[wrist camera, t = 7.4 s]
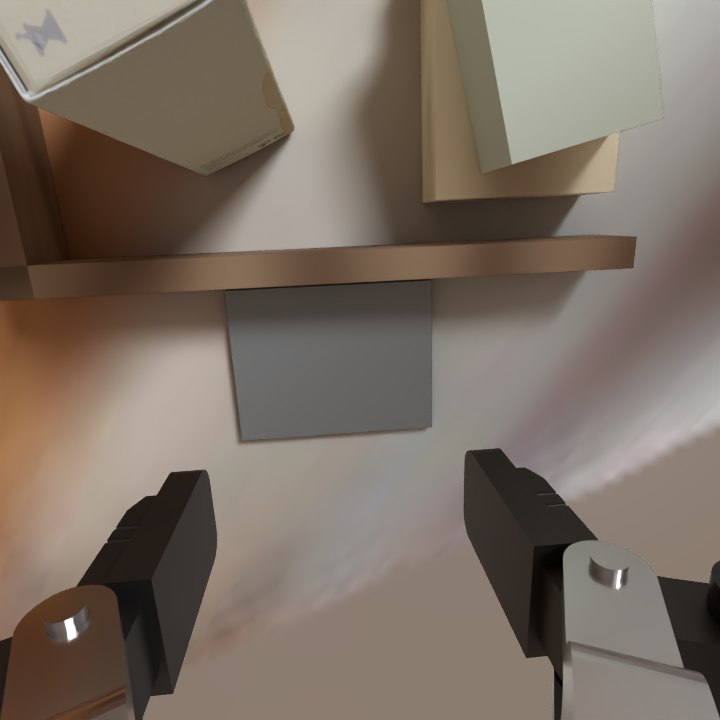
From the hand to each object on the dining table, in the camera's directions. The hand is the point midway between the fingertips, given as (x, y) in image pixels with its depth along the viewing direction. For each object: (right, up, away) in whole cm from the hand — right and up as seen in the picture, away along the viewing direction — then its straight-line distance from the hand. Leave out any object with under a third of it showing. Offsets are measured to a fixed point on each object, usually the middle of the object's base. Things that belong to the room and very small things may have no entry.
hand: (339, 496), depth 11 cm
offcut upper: (+6, +14, +6) cm, 17 cm away
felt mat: (-1, +3, +11) cm, 12 cm away
